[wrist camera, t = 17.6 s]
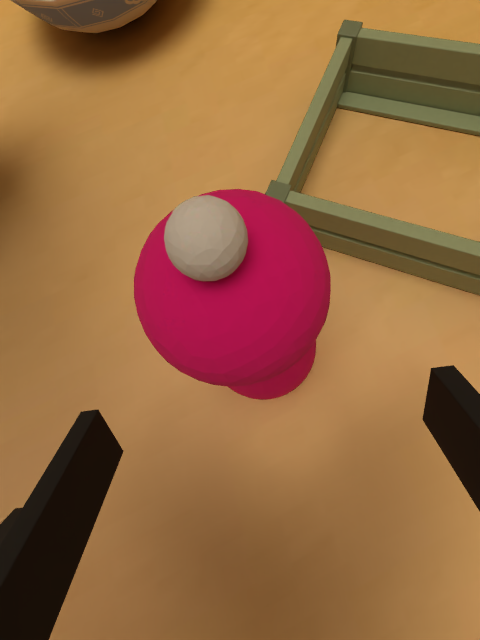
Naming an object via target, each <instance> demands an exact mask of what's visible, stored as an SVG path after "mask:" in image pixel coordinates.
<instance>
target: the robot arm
mask: <svg viewBox="0 0 480 640" xmlns="http://www.w3.org/2000/svg"><path fill="white" fill-rule="evenodd" d="M423 421H424V423H425V424H426V426H427V427H428V429H429V431H430V432H431V434H432V435H433V437H434V439H435V440H436V442H437V443H438V445H439V447H440V448H441V450H442V451H443V453H444V455H445V456H446V458H447V460H448V461H449V463H450V464H451V466H452V468H453V469H454V471H455V472H456V474H457V476H458V477H459V479H460V480H461V482H462V484H463V485H464V487H465V489H466V490H467V492H468V493H469V495H470V497H471V498H472V500H473V501H474V503H475V505H476V506H477V508H478V509H479V511H480V394H479V393H478V392H477V391H476V390H475V389H474V387H473V386H472V385H471V384H470V383H469V382H468V381H467V380H466V379H465V378H464V376H463V375H462V374H461V373H460V372H459V371H458V370H457V369H456V368H455V366H454V365H453V366H445V367H437V368H431V373H430V379H429V384H428V390H427V396H426V402H425V408H424V414H423ZM122 454H123V450H122V448H121V446H120V445H119V443H118V441H117V440H116V438H115V436H114V435H113V433H112V432H111V430H110V428H109V427H108V425H107V423H106V422H105V420H104V418H103V417H102V415H101V413H100V412H99V410H91V411H83V412H81V413H80V415H79V416H78V418H77V419H76V421H75V423H74V424H73V426H72V428H71V429H70V431H69V433H68V434H67V436H66V438H65V439H64V441H63V442H62V444H61V446H60V447H59V449H58V451H57V452H56V454H55V456H54V457H53V459H52V461H51V462H50V464H49V465H48V467H47V469H46V470H45V472H44V474H43V475H42V477H41V479H40V480H39V482H38V484H37V485H36V487H35V488H34V490H33V492H32V493H31V495H30V497H29V498H28V500H27V502H26V503H25V505H24V507H23V508H16V509H14V510H13V511H12V513H11V514H10V515H9V516H8V517H7V518H6V519H5V520H4V521H3V522H2V523H1V524H0V640H49V637H50V635H51V632H52V630H53V627H54V625H55V622H56V620H57V617H58V615H59V612H60V610H61V607H62V605H63V602H64V600H65V597H66V595H67V592H68V589H69V587H70V584H71V582H72V579H73V577H74V574H75V572H76V569H77V567H78V564H79V562H80V559H81V557H82V554H83V552H84V549H85V547H86V544H87V542H88V539H89V537H90V534H91V532H92V529H93V527H94V524H95V522H96V519H97V516H98V514H99V511H100V509H101V506H102V504H103V501H104V499H105V496H106V494H107V491H108V489H109V486H110V484H111V481H112V479H113V476H114V474H115V471H116V469H117V466H118V464H119V461H120V459H121V456H122Z"/></svg>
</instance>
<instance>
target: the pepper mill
mask: <svg viewBox="0 0 480 640" xmlns="http://www.w3.org/2000/svg"><path fill="white" fill-rule="evenodd" d="M330 291H331V290H330V272H329V267H328V263H327V259H326V256H325V253H324V251H323V248H322V246H321V243H320V241H319V240H318V238H317V237H316V235H315V234H314V232H313V231H312V229H311V228H310V226H309V224H308V223H307V222H306V221H305V220H304V219H303V218H302V217H301V216H300V215H299V214H298V213H297V212H296V211H294V210H293V209H292V208H290V207H289V206H287V205H286V204H285V203H283V202H282V201H280V200H278V199H276V198H273V197H270V196H268V195H265V194H262V193H260V192H257V191H250V190H241V189H231V190H217V191H213V192H209V193H205V194H201V195H199V196H195V197H192V198H190V199H188V200H186V201H184V202H182V203H181V204H179V205H178V206H177V207H176V208H175V209H174V210H173V211H171V212H170V213H169V214H168V215H167V216H166V217H165V218H164V219H163V220H162V221H161V222H159V223H158V224H157V226H156V227H155V228H154V230H153V231H152V232H151V233H150V235H149V237H148V239H147V241H146V243H145V245H144V247H143V249H142V251H141V254H140V257H139V260H138V263H137V266H136V270H135V276H134V298H135V303H136V308H137V313H138V316H139V319H140V322H141V324H142V327H143V329H144V332H145V334H146V335H147V337H148V338H149V340H150V341H151V343H152V345H153V346H154V347H155V348H156V350H157V351H158V352H159V353H160V355H161V356H162V357H163V358H164V359H165V360H166V361H167V362H168V363H170V364H171V365H172V366H174V367H175V368H176V369H178V370H179V371H180V372H182V373H184V374H186V375H189V376H191V377H193V378H195V379H197V380H199V381H203V382H206V383H209V384H213V385H220V386H228V387H229V388H231V389H232V390H234V391H235V392H237V393H239V394H241V395H243V396H246V397H249V398H253V399H261V400H262V399H273V398H277V397H280V396H283V395H285V394H288V393H289V392H291V391H292V390H294V389H295V388H296V387H298V386H299V385H300V384H301V383H302V382H303V380H304V379H305V378H306V377H307V375H308V373H309V372H310V370H311V368H312V365H313V362H314V358H315V352H316V339H317V337H318V335H319V333H320V331H321V329H322V327H323V325H324V323H325V321H326V317H327V313H328V309H329V303H330Z"/></svg>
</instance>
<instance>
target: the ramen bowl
mask: <svg viewBox="0 0 480 640" xmlns="http://www.w3.org/2000/svg"><path fill="white" fill-rule="evenodd" d="M11 1H12V2H14V3H16V4H17V5H19V6H21V7H22V8H24V9H25V10H27V11H29V12H30V13H32V14H34V15H35V16H37V17H39V18H40V19H42V20H44V21H45V22H47V23H49V24H51V25H53V26H55V27H57V28H60V29H62V30H68V31H77V32H88V33H100V32H104V31H108V30H112V29H116V28H120V27H122V26H124V25H126V24H127V23H129V22H131V21H133V20H135V19H136V18H138V17H140V16H142V15H143V14H144V13H145V12H146V11H147V10H148V9H149V8H150V7H151V6H152V5H153V4H154V3H155V2H156V1H157V0H11Z"/></svg>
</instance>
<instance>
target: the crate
mask: <svg viewBox="0 0 480 640" xmlns="http://www.w3.org/2000/svg"><path fill="white" fill-rule="evenodd" d="M362 24H363V22H357V21H350V20H344V21H343V23H342V25H341V28H340V30H339V32H338V35H337V42H336V49H335V51H334V53H333V55H332V58H331V60H330V62H329V64H328V67H327V69H326V71H325V73H324V76H323V78H322V80H321V82H320V84H319V87H318V89H317V91H316V93H315V96H314V98H313V100H312V102H311V105H310V107H309V109H308V111H307V113H306V116H305V118H304V120H303V122H302V125H301V127H300V129H299V131H298V134H297V136H296V138H295V140H294V142H293V145H292V147H291V149H290V151H289V154H288V156H287V158H286V160H285V163H284V165H283V167H282V169H281V171H280V174H279V176H278V178H277V180H276V181H274V180H271V182H270V185H269V187H268V189H267V191H266V193H265V195H268V196H270V197H273V198H276V199H278V200H280V201H282V202H283V203H285V204H286V205H287V206H289V207H290V208H292V209H293V210H294V211H296V212H297V213H298V214H299V215H300V216H301V217H302V218H303V219H304V220H305V221H306V222H307V223H308V224H309V226H310V228H311V229H312V231H313V232H314V234H315V235H316V237H317V238H318V240H319V241H320V243H321V246H322V247H325V248H328V249H331V250H335V251H338V252H341V253H344V254H348V255H351V256H354V257H357V258H361V259H364V260H367V261H370V262H373V263H377V264H380V265H383V266H386V267H390V268H393V269H396V270H399V271H403V272H406V273H409V274H412V275H416V276H419V277H422V278H425V279H428V280H432V281H435V282H438V283H441V284H445V285H448V286H451V287H454V288H458V289H461V290H464V291H467V292H470V293H474V294H477V295H480V242H477V241H474V240H470V239H466V238H463V237H459V236H455V235H452V234H448V233H444V232H441V231H437V230H433V229H430V228H426V227H422V226H419V225H415V224H411V223H408V222H404V221H400V220H397V219H393V218H389V217H386V216H382V215H378V214H375V213H371V212H367V211H364V210H360V209H356V208H353V207H349V206H345V205H342V204H338V203H334V202H331V201H327V200H323V199H320V198H316V197H312V196H309V195H305V194H301V193H300V192H301V190H302V187H303V185H304V183H305V180H306V178H307V176H308V173H309V171H310V169H311V166H312V164H313V162H314V159H315V157H316V155H317V153H318V150H319V148H320V146H321V143H322V141H323V139H324V136H325V134H326V132H327V129H328V127H329V125H330V122H331V120H332V118H333V115H334V113H335V111H336V108H337V107H338V108H343V109H348V110H353V111H358V112H363V113H368V114H373V115H378V116H383V117H388V118H393V119H398V120H403V121H408V122H413V123H418V124H423V125H428V126H433V127H438V128H443V129H448V130H453V131H458V132H463V133H468V134H473V135H478V136H480V44H476V43H468V42H461V41H454V40H447V39H439V38H432V37H425V36H418V35H410V34H403V33H396V32H388V31H381V30H374V29H367V28H362Z"/></svg>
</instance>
